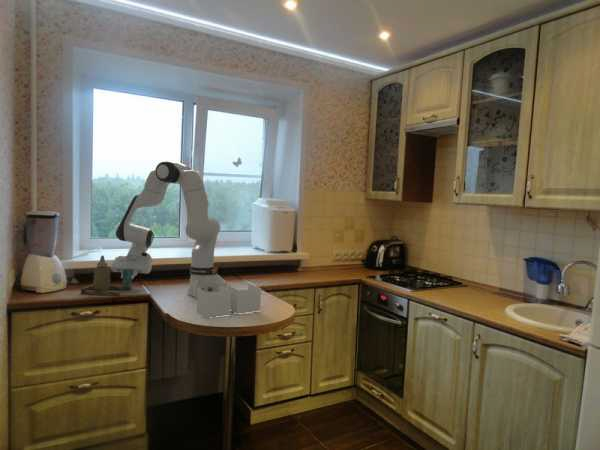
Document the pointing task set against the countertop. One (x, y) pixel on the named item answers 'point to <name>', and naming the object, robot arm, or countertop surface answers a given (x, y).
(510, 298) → the countertop surface
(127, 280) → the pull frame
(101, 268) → the squeeze bottle
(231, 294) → the storage container
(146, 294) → the countertop surface
